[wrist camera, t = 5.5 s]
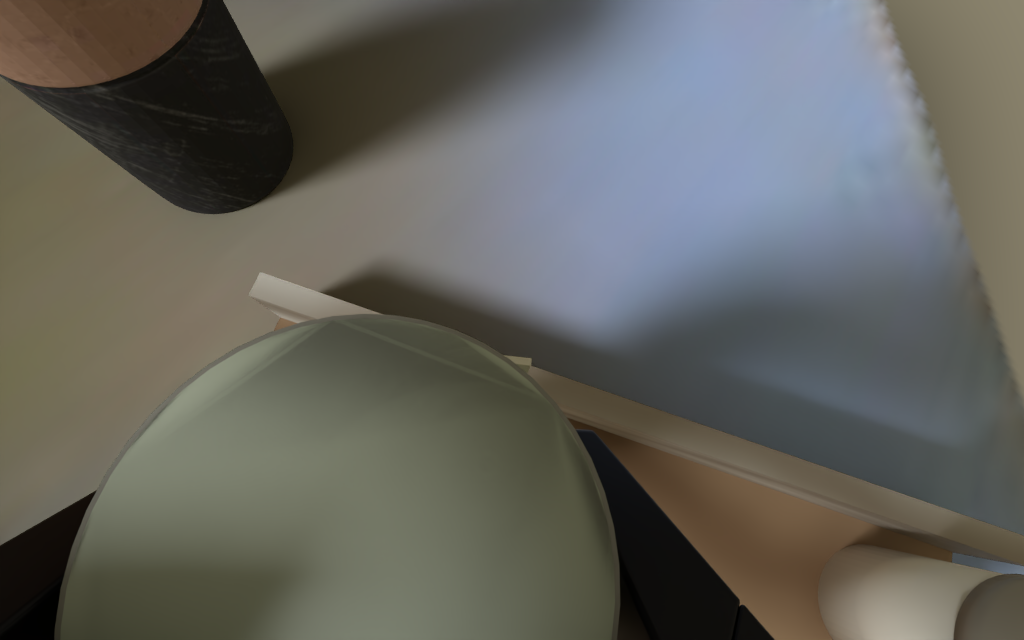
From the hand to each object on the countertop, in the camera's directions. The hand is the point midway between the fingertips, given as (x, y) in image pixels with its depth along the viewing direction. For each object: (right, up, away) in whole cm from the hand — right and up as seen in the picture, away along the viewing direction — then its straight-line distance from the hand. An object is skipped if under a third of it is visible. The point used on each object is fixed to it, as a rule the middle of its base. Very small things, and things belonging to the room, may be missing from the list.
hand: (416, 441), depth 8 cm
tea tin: (0, -3, +6) cm, 7 cm away
